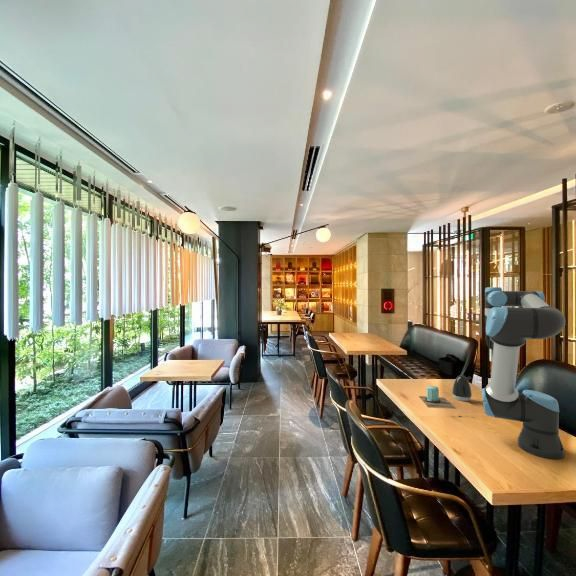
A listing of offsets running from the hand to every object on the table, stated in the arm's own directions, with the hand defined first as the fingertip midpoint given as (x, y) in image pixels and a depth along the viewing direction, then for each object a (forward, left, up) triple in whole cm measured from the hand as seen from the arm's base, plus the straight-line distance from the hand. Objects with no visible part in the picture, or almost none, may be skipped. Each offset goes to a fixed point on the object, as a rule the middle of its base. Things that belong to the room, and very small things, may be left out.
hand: (493, 361), depth 160 cm
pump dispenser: (+24, +5, -30) cm, 38 cm away
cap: (+18, +24, -27) cm, 41 cm away
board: (+16, +23, -29) cm, 40 cm away
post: (+18, +24, -28) cm, 41 cm away
